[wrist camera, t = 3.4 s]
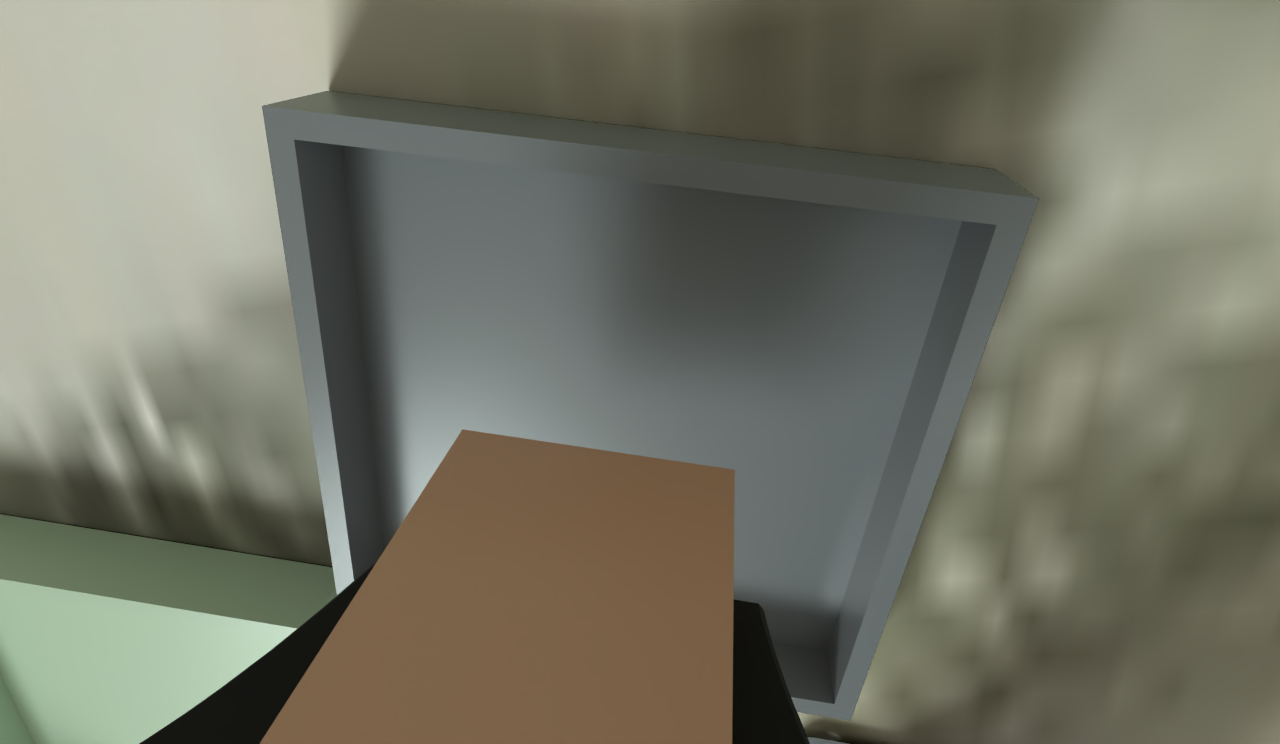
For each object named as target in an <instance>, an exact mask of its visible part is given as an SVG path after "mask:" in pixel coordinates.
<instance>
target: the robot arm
mask: <svg viewBox="0 0 1280 744" xmlns="http://www.w3.org/2000/svg"><path fill="white" fill-rule="evenodd" d="M377 561H378V560H377ZM377 561H376V562H375V563H374V564H373V565H371V566H370V567H369V568H368V569H367V570H366V571H365V572H363V573H362V574H361V575H360V576H359V577H358V578H357V579H355V580H354V581H353V582H352V583H351V584H350V585H349V586H347V587H346V588H345V589H344V590H343V591H342V592H340V593H339V594H338V595H337V596H336V597H335V598H333V599H332V600H331V601H330V602H329V603H328V604H326V605H325V606H324V607H323V608H322V609H321V610H319V611H318V612H317V613H316V614H314V615H313V616H312V617H311V618H310V619H308V620H307V621H306V622H305V623H304V624H302V625H301V626H300V627H299V628H297V629H296V630H295V631H294V632H293V633H291V634H290V635H289V636H288V637H286V638H285V639H284V640H283V641H282V642H280V643H279V644H278V645H277V646H275V647H274V648H273V649H271V650H270V651H269V652H268V653H266V654H265V655H264V656H262V657H261V658H260V659H258V660H257V661H256V662H254V663H253V664H252V665H250V666H249V667H248V668H246V669H245V670H244V671H242V672H241V673H240V674H239V675H237V676H236V677H235V678H233V679H232V680H231V681H229V682H228V683H227V684H225V685H224V686H223V687H221V688H220V689H219V690H217V691H216V692H214V693H213V694H212V695H210V696H209V697H207V698H206V699H205V700H203V701H202V702H200V703H199V704H197V705H196V706H195V707H193V708H192V709H190V710H189V711H187V712H186V713H185V714H183V715H182V716H180V717H179V718H177V719H176V720H174V721H173V722H171V723H170V724H168V725H167V726H165V727H164V728H162V729H161V730H159V731H158V732H156V733H155V734H153V735H152V736H150V737H149V738H147V739H146V740H144V741H142V742H141V743H139V744H260V742H261V741H262V739H263V738H264V736H265V735H266V733H267V731H268V730H269V728H270V727H271V725H272V724H273V722H274V721H275V719H276V718H277V716H278V714H279V713H280V711H281V710H282V708H283V707H284V705H285V704H286V702H287V700H288V699H289V697H290V696H291V694H292V693H293V691H294V690H295V688H296V687H297V685H298V683H299V682H300V680H301V679H302V677H303V676H304V674H305V673H306V671H307V669H308V668H309V666H310V665H311V663H312V662H313V660H314V659H315V657H316V656H317V654H318V652H319V651H320V649H321V648H322V646H323V645H324V643H325V642H326V640H327V638H328V637H329V635H330V634H331V632H332V631H333V629H334V628H335V626H336V625H337V623H338V621H339V620H340V618H341V617H342V615H343V614H344V612H345V611H346V609H347V607H348V606H349V604H350V603H351V601H352V600H353V598H354V597H355V595H356V594H357V592H358V590H359V589H360V587H361V586H362V584H363V583H364V581H365V580H366V578H367V576H368V575H369V573H370V572H371V570H372V569H373V567H374V566H375V564H376V563H377ZM732 744H849V743H843V742H837V741H831V740H825V739H820V738H814V737H807V735H806V733H805V730H804V728H803V725H802V723H801V721H800V718H799V716H798V713H797V711H796V708H795V706H794V703H793V701H792V698H791V695H790V693H789V690H788V688H787V685H786V682H785V679H784V676H783V673H782V670H781V668H780V665H779V662H778V659H777V656H776V653H775V649H774V646H773V643H772V640H771V636H770V633H769V629H768V625H767V621H766V617H765V613H764V610H763V608H762V607H761V606H760V605H759V604H758V603H753V602H747V601H741V600H734V602H733V710H732Z"/></svg>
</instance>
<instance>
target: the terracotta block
mask: <svg viewBox="0 0 1280 744" xmlns="http://www.w3.org/2000/svg"><path fill="white" fill-rule="evenodd" d="M734 493H735V470H733V469H727V468H720V467H713V466H707V465H700V464H693V463H686V462H680V461H673V460H666V459H659V458H653V457H646V456H639V455H632V454H626V453H619V452H612V451H606V450H599V449H592V448H585V447H579V446H572V445H565V444H558V443H552V442H545V441H538V440H531V439H525V438H518V437H511V436H505V435H498V434H491V433H484V432H478V431H471V430H464V429H462V431H461V432H460V434H459V435H458V437H457V439H456V440H455V442H454V443H453V445H452V446H451V448H450V449H449V451H448V452H447V454H446V456H445V457H444V459H443V460H442V462H441V463H440V465H439V466H438V468H437V470H436V471H435V473H434V474H433V476H432V477H431V479H430V480H429V482H428V483H427V485H426V487H425V488H424V490H423V491H422V493H421V494H420V496H419V497H418V499H417V501H416V502H415V504H414V505H413V507H412V508H411V510H410V511H409V513H408V514H407V516H406V518H405V519H404V521H403V522H402V524H401V525H400V527H399V528H398V530H397V532H396V533H395V535H394V536H393V538H392V539H391V541H390V542H389V544H388V545H387V547H386V549H385V550H384V552H383V553H382V555H381V556H380V558H379V559H378V561H377V563H376V564H375V566H374V567H373V569H372V570H371V572H370V573H369V575H368V576H367V578H366V580H365V581H364V583H363V584H362V586H361V587H360V589H359V590H358V592H357V594H356V595H355V597H354V598H353V600H352V601H351V603H350V604H349V606H348V607H347V609H346V611H345V612H344V614H343V615H342V617H341V618H340V620H339V621H338V623H337V625H336V626H335V628H334V629H333V631H332V632H331V634H330V635H329V637H328V638H327V640H326V642H325V643H324V645H323V646H322V648H321V649H320V651H319V652H318V654H317V656H316V657H315V659H314V660H313V662H312V663H311V665H310V666H309V668H308V669H307V671H306V673H305V674H304V676H303V677H302V679H301V680H300V682H299V683H298V685H297V687H296V688H295V690H294V691H293V693H292V694H291V696H290V697H289V699H288V700H287V702H286V704H285V705H284V707H283V708H282V710H281V711H280V713H279V714H278V716H277V718H276V719H275V721H274V722H273V724H272V725H271V727H270V728H269V730H268V731H267V733H266V735H265V736H264V738H263V739H262V741H261V742H260V744H732V710H733V602H734Z"/></svg>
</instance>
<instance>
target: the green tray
mask: <svg viewBox="0 0 1280 744" xmlns="http://www.w3.org/2000/svg"><path fill="white" fill-rule="evenodd" d="M336 596H337V592H336V586H335V579H334V573H333V568H332V567H326V566H320V565H313V564H307V563H301V562H295V561H289V560H282V559H276V558H270V557H264V556H257V555H251V554H245V553H239V552H233V551H226V550H220V549H214V548H208V547H201V546H195V545H189V544H183V543H176V542H170V541H164V540H158V539H152V538H145V537H139V536H133V535H127V534H120V533H114V532H108V531H102V530H96V529H89V528H83V527H77V526H71V525H64V524H58V523H52V522H46V521H39V520H33V519H27V518H21V517H15V516H8V515H2V514H0V744H139V743H141V742H142V741H144V740H146V739H147V738H149V737H150V736H152V735H153V734H155V733H156V732H158V731H159V730H161V729H162V728H164V727H165V726H167V725H168V724H170V723H171V722H173V721H174V720H176V719H177V718H179V717H180V716H182V715H183V714H185V713H186V712H187V711H189V710H190V709H192V708H193V707H195V706H196V705H197V704H199V703H200V702H202V701H203V700H205V699H206V698H207V697H209V696H210V695H212V694H213V693H214V692H216V691H217V690H219V689H220V688H221V687H223V686H224V685H225V684H227V683H228V682H229V681H231V680H232V679H233V678H235V677H236V676H237V675H239V674H240V673H241V672H242V671H244V670H245V669H246V668H248V667H249V666H250V665H252V664H253V663H254V662H256V661H257V660H258V659H260V658H261V657H262V656H264V655H265V654H266V653H268V652H269V651H270V650H271V649H273V648H274V647H275V646H277V645H278V644H279V643H280V642H282V641H283V640H284V639H285V638H286V637H288V636H289V635H290V634H291V633H293V632H294V631H295V630H296V629H297V628H299V627H300V626H301V625H302V624H304V623H305V622H306V621H307V620H308V619H310V618H311V617H312V616H313V615H314V614H316V613H317V612H318V611H319V610H321V609H322V608H323V607H324V606H325V605H326V604H328V603H329V602H330V601H331V600H332V599H333V598H335V597H336Z"/></svg>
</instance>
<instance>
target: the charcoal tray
mask: <svg viewBox="0 0 1280 744" xmlns="http://www.w3.org/2000/svg"><path fill="white" fill-rule="evenodd" d="M262 109H263V116H264V122H265V129H266V135H267V142H268V148H269V155H270V161H271V168H272V175H273V181H274V188H275V194H276V201H277V207H278V214H279V220H280V227H281V233H282V240H283V246H284V253H285V259H286V266H287V272H288V279H289V286H290V292H291V299H292V305H293V312H294V318H295V325H296V331H297V338H298V344H299V351H300V357H301V364H302V370H303V377H304V384H305V390H306V397H307V403H308V410H309V416H310V423H311V429H312V436H313V442H314V449H315V455H316V462H317V468H318V475H319V481H320V488H321V495H322V501H323V508H324V514H325V521H326V527H327V534H328V540H329V547H330V553H331V560H332V566H333V573H334V579H335V586H336V592H337V595H338V594H339V593H340V592H342V591H343V590H344V589H345V588H346V587H347V586H349V585H350V584H351V583H352V582H353V581H354V580H355V579H357V578H358V577H359V576H360V575H361V574H362V573H363V572H365V571H366V570H367V569H368V568H369V567H370V566H371V565H373V564H374V563H375V562H376V561H377V560H378V559H379V558H380V556H381V555H382V553H383V552H384V550H385V549H386V547H387V545H388V544H389V542H390V541H391V539H392V538H393V536H394V535H395V533H396V532H397V530H398V528H399V527H400V525H401V524H402V522H403V521H404V519H405V518H406V516H407V514H408V513H409V511H410V510H411V508H412V507H413V505H414V504H415V502H416V501H417V499H418V497H419V496H420V494H421V493H422V491H423V490H424V488H425V487H426V485H427V483H428V482H429V480H430V479H431V477H432V476H433V474H434V473H435V471H436V470H437V468H438V466H439V465H440V463H441V462H442V460H443V459H444V457H445V456H446V454H447V452H448V451H449V449H450V448H451V446H452V445H453V443H454V442H455V440H456V439H457V437H458V435H459V434H460V432H461V431H462V429H464V430H471V431H478V432H484V433H491V434H498V435H505V436H511V437H518V438H525V439H531V440H538V441H545V442H552V443H558V444H565V445H572V446H579V447H585V448H592V449H599V450H606V451H612V452H619V453H626V454H632V455H639V456H646V457H653V458H659V459H666V460H673V461H680V462H686V463H693V464H700V465H707V466H713V467H720V468H727V469H733V470H735V493H734V600H741V601H747V602H753V603H758V604H759V605H760V606H761V607H762V608H763V610H764V613H765V617H766V621H767V625H768V629H769V633H770V636H771V640H772V643H773V646H774V649H775V653H776V656H777V659H778V662H779V665H780V668H781V670H782V673H783V676H784V679H785V682H786V685H787V688H788V690H789V693H790V695H791V698H792V701H793V703H794V706H795V708H796V711H797V712H801V713H807V714H813V715H819V716H825V717H831V718H837V719H843V720H849V721H850V720H851V717H852V715H853V712H854V709H855V706H856V704H857V701H858V698H859V695H860V693H861V690H862V687H863V684H864V681H865V679H866V676H867V673H868V670H869V668H870V665H871V662H872V659H873V657H874V654H875V651H876V648H877V645H878V643H879V640H880V637H881V634H882V632H883V629H884V626H885V623H886V621H887V618H888V615H889V612H890V609H891V607H892V604H893V601H894V598H895V596H896V593H897V590H898V587H899V585H900V582H901V579H902V576H903V573H904V571H905V568H906V565H907V562H908V560H909V557H910V554H911V551H912V549H913V546H914V543H915V540H916V537H917V535H918V532H919V529H920V526H921V524H922V521H923V518H924V515H925V513H926V510H927V507H928V504H929V502H930V499H931V496H932V493H933V490H934V488H935V485H936V482H937V479H938V477H939V474H940V471H941V468H942V466H943V463H944V460H945V457H946V454H947V452H948V449H949V446H950V443H951V441H952V438H953V435H954V432H955V430H956V427H957V424H958V421H959V418H960V416H961V413H962V410H963V407H964V405H965V402H966V399H967V396H968V394H969V391H970V388H971V385H972V382H973V380H974V377H975V374H976V371H977V369H978V366H979V363H980V360H981V358H982V355H983V352H984V349H985V346H986V344H987V341H988V338H989V335H990V333H991V330H992V327H993V324H994V322H995V319H996V316H997V313H998V310H999V308H1000V305H1001V302H1002V299H1003V297H1004V294H1005V291H1006V288H1007V286H1008V283H1009V280H1010V277H1011V275H1012V272H1013V269H1014V266H1015V263H1016V261H1017V258H1018V255H1019V252H1020V250H1021V247H1022V244H1023V241H1024V239H1025V236H1026V233H1027V230H1028V227H1029V225H1030V222H1031V219H1032V216H1033V214H1034V211H1035V208H1036V205H1037V203H1038V200H1039V198H1037V197H1036V196H1034V195H1033V194H1031V193H1030V192H1028V191H1027V190H1025V189H1024V188H1022V187H1021V186H1020V185H1018V184H1017V183H1015V182H1014V181H1012V180H1011V179H1009V178H1008V177H1006V176H1005V175H1003V174H1002V173H1000V172H999V171H997V170H996V169H990V168H981V167H972V166H964V165H955V164H947V163H938V162H930V161H921V160H913V159H904V158H895V157H887V156H878V155H870V154H861V153H853V152H844V151H836V150H827V149H819V148H810V147H801V146H793V145H784V144H776V143H767V142H759V141H750V140H742V139H733V138H725V137H716V136H707V135H699V134H690V133H682V132H673V131H665V130H656V129H648V128H639V127H631V126H622V125H613V124H605V123H596V122H588V121H579V120H571V119H562V118H554V117H545V116H537V115H528V114H519V113H511V112H502V111H494V110H485V109H477V108H468V107H460V106H451V105H443V104H434V103H425V102H417V101H408V100H400V99H391V98H383V97H374V96H366V95H357V94H349V93H340V92H331V91H325V92H321V93H316V94H312V95H307V96H303V97H299V98H294V99H290V100H286V101H281V102H277V103H273V104H268V105H264V106H262Z"/></svg>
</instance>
